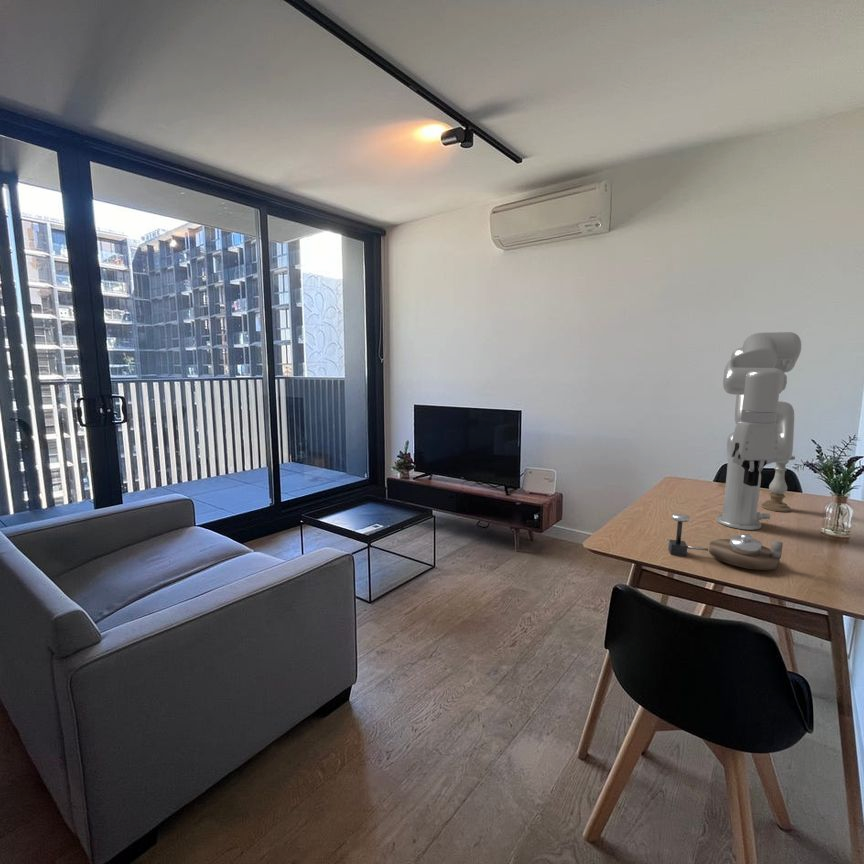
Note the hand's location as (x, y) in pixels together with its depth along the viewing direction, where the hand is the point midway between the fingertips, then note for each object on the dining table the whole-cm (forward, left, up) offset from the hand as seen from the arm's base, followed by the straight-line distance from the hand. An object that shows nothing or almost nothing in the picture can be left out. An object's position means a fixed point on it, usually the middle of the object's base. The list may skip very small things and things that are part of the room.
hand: (750, 484), depth 125 cm
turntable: (0, +1, -20) cm, 20 cm away
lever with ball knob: (+13, -4, -21) cm, 25 cm away
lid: (+1, +1, -18) cm, 18 cm away
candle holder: (-46, -42, -22) cm, 66 cm away
